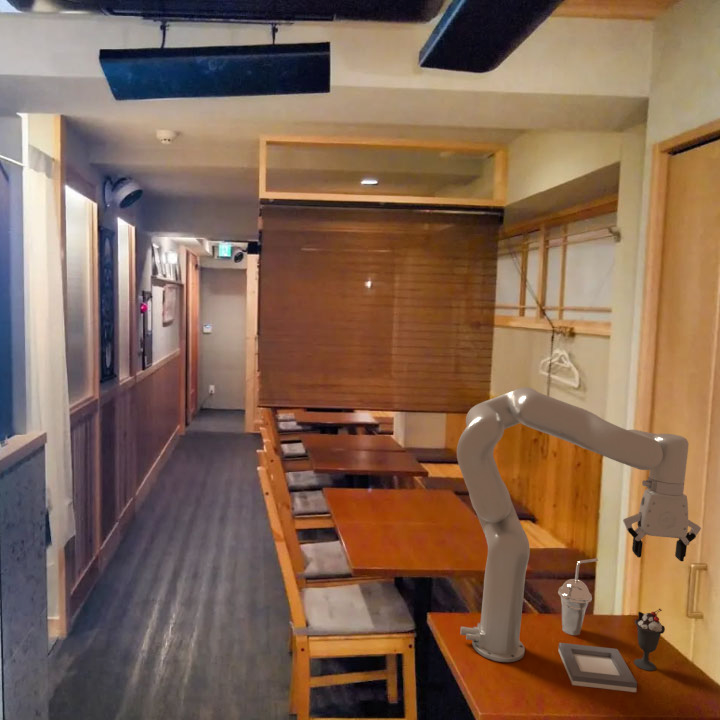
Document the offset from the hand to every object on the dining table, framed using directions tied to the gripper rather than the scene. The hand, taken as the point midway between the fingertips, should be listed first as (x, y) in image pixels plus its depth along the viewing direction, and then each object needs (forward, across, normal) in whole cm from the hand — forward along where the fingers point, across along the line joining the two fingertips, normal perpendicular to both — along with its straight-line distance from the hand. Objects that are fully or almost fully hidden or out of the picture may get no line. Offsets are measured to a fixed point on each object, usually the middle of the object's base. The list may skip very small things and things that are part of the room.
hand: (658, 557), depth 150 cm
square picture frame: (+27, -14, -5) cm, 31 cm away
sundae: (+27, 0, 0) cm, 27 cm away
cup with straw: (+27, -14, +13) cm, 33 cm away
